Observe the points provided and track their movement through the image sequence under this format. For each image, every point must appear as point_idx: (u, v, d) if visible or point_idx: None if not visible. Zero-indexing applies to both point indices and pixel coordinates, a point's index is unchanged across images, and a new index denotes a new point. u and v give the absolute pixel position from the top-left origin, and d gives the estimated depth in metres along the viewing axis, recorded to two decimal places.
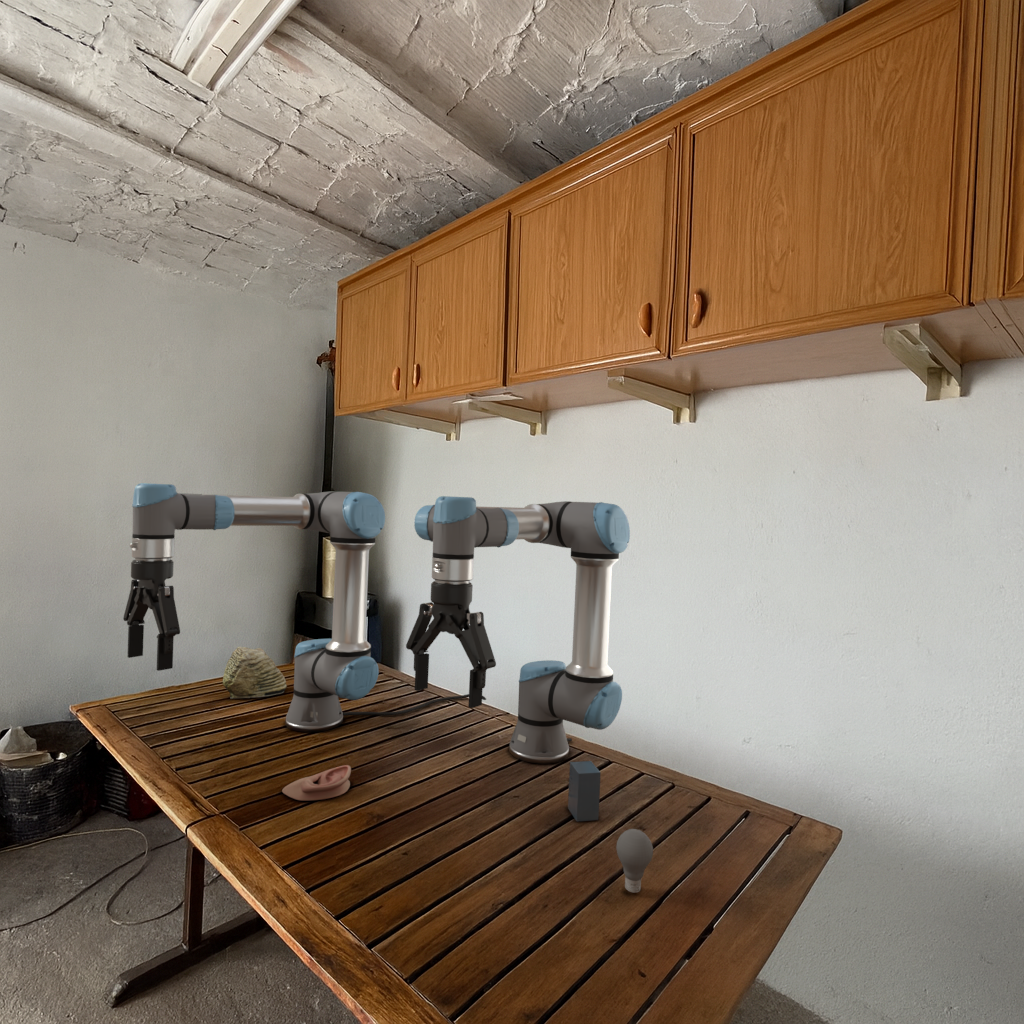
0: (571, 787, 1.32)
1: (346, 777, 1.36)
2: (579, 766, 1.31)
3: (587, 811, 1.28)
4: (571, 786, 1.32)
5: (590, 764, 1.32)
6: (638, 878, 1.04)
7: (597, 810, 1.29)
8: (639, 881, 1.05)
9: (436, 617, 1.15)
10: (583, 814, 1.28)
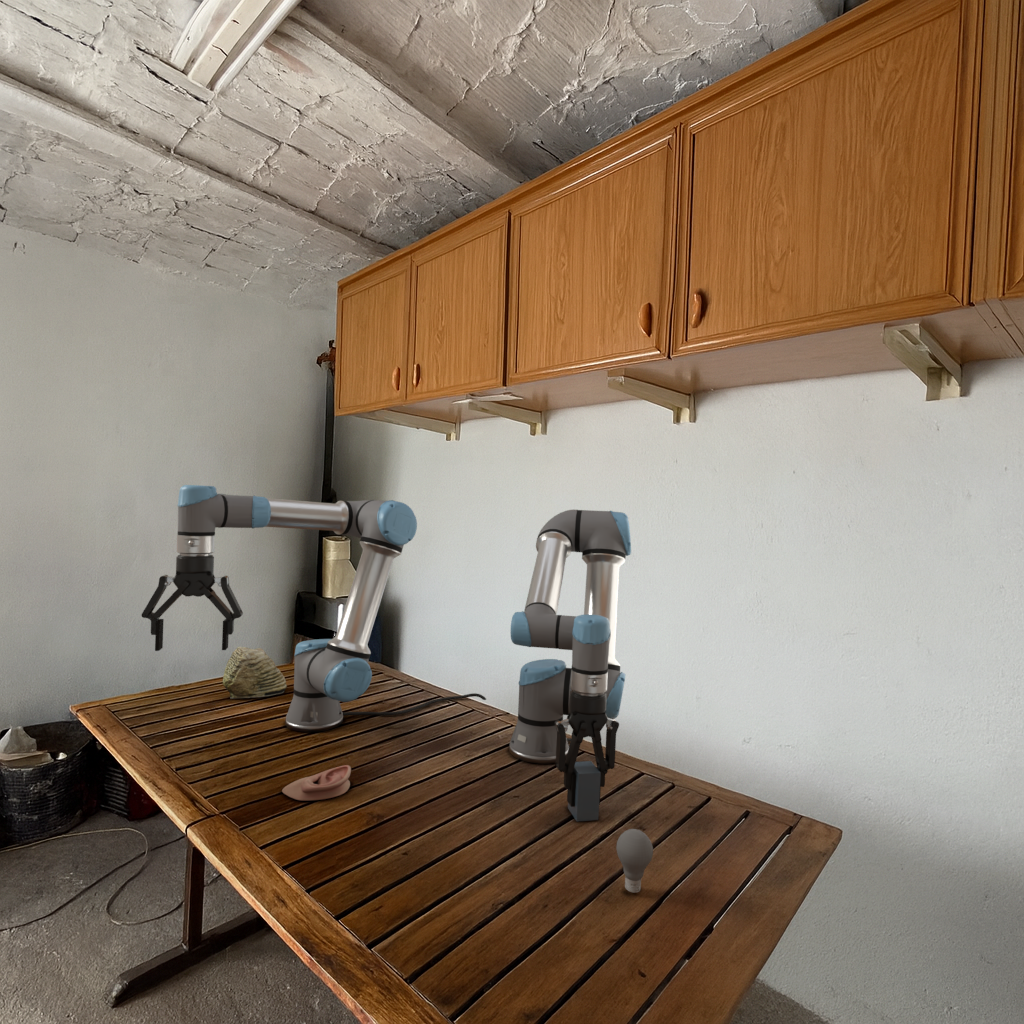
0: None
1: (346, 777, 1.36)
2: (579, 766, 1.31)
3: (587, 811, 1.28)
4: None
5: (590, 764, 1.32)
6: (638, 878, 1.04)
7: (597, 810, 1.29)
8: (639, 881, 1.05)
9: (583, 727, 1.29)
10: (583, 814, 1.28)
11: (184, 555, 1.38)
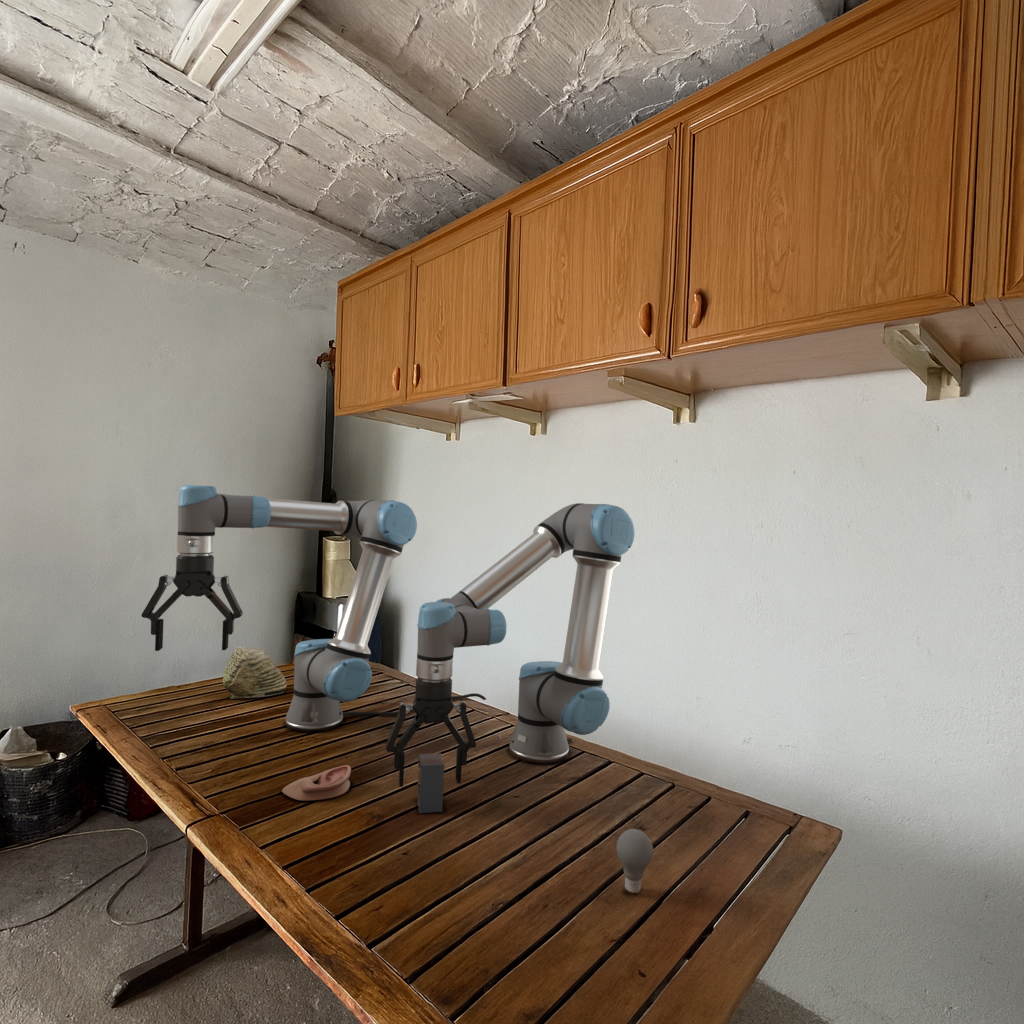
0: (418, 779, 1.33)
1: (346, 777, 1.36)
2: (425, 758, 1.32)
3: (430, 802, 1.29)
4: (418, 778, 1.33)
5: (438, 757, 1.33)
6: (638, 878, 1.04)
7: (441, 802, 1.30)
8: (639, 881, 1.05)
9: (426, 713, 1.29)
10: (426, 806, 1.29)
11: (184, 555, 1.38)
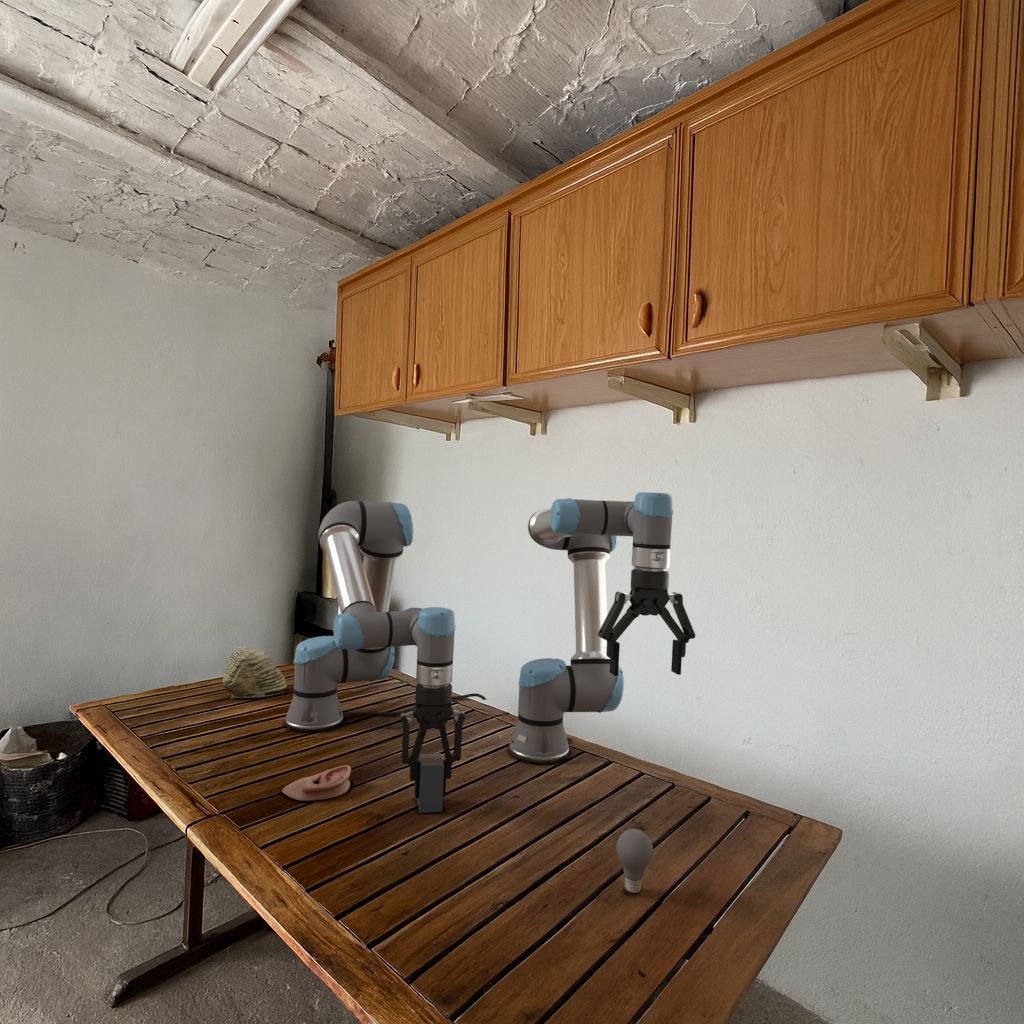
0: None
1: (346, 777, 1.36)
2: (425, 758, 1.32)
3: (430, 802, 1.29)
4: None
5: (438, 757, 1.33)
6: (638, 878, 1.04)
7: (441, 802, 1.30)
8: (639, 881, 1.05)
9: (645, 603, 1.26)
10: (426, 806, 1.29)
11: (427, 687, 1.29)
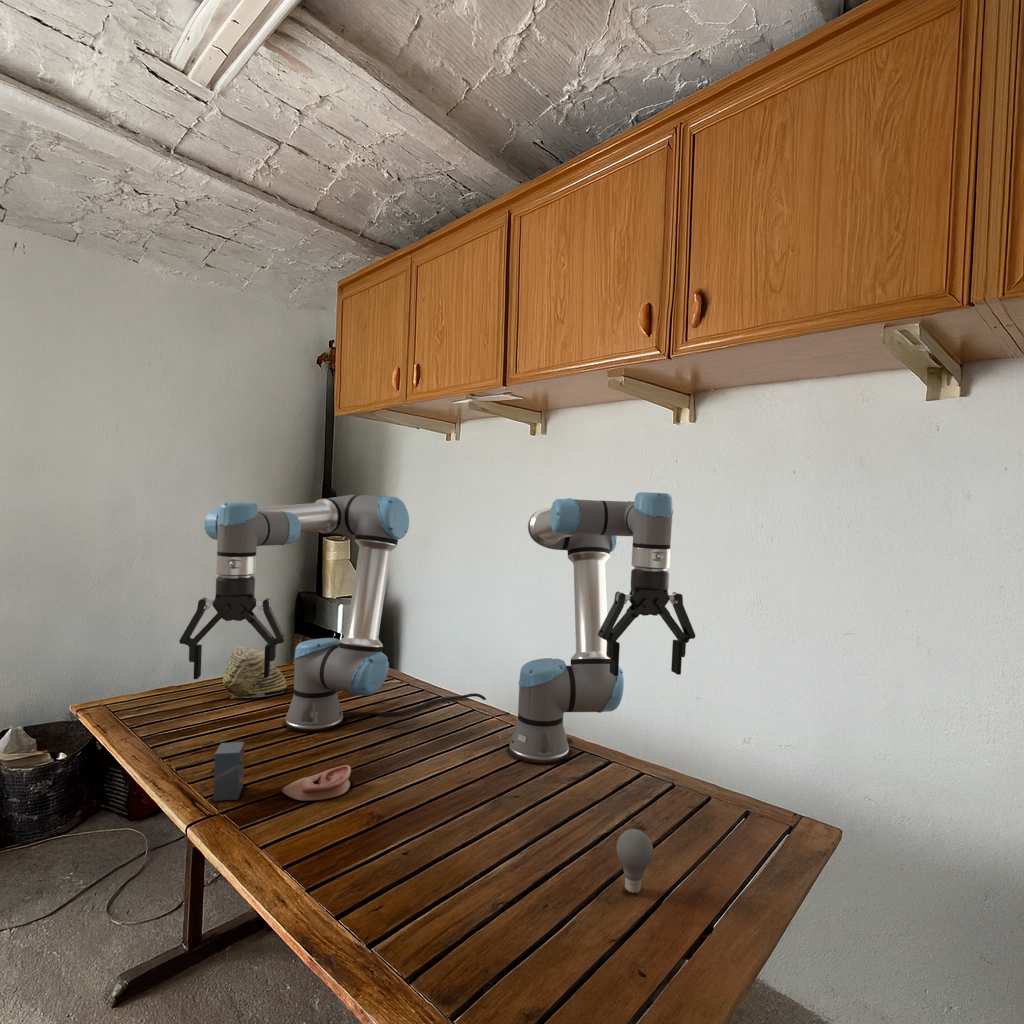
0: None
1: (346, 777, 1.36)
2: (224, 747, 1.33)
3: (225, 790, 1.30)
4: None
5: (238, 745, 1.34)
6: (638, 878, 1.04)
7: (236, 789, 1.31)
8: (639, 881, 1.05)
9: (645, 603, 1.26)
10: (220, 793, 1.30)
11: (225, 577, 1.30)
